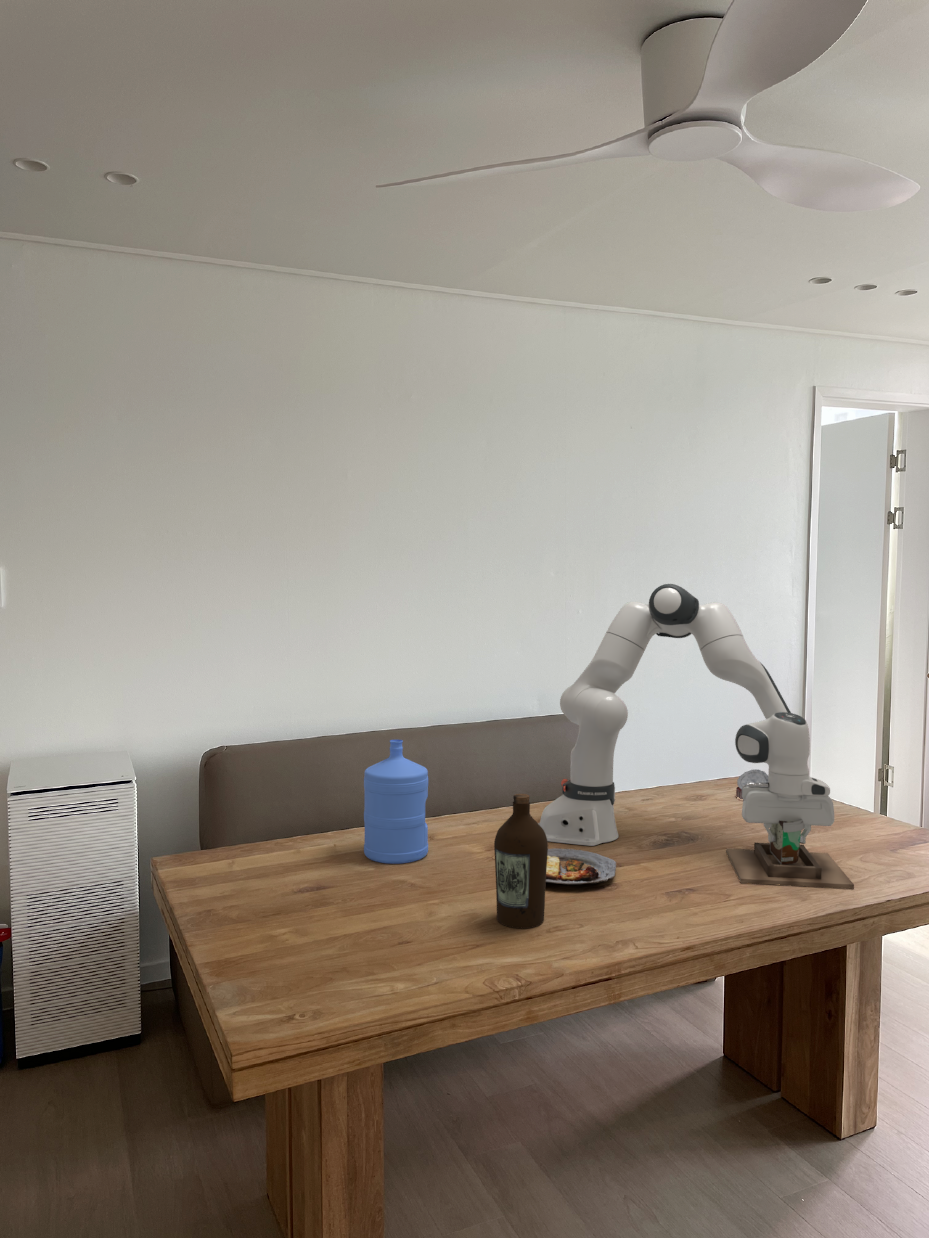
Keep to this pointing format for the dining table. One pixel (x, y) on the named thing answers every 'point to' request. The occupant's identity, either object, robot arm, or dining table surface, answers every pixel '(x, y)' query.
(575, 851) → the food plate
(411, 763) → the water jug
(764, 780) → the canned food
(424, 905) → the dining table surface
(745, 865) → the caddy board
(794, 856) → the food container
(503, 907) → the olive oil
